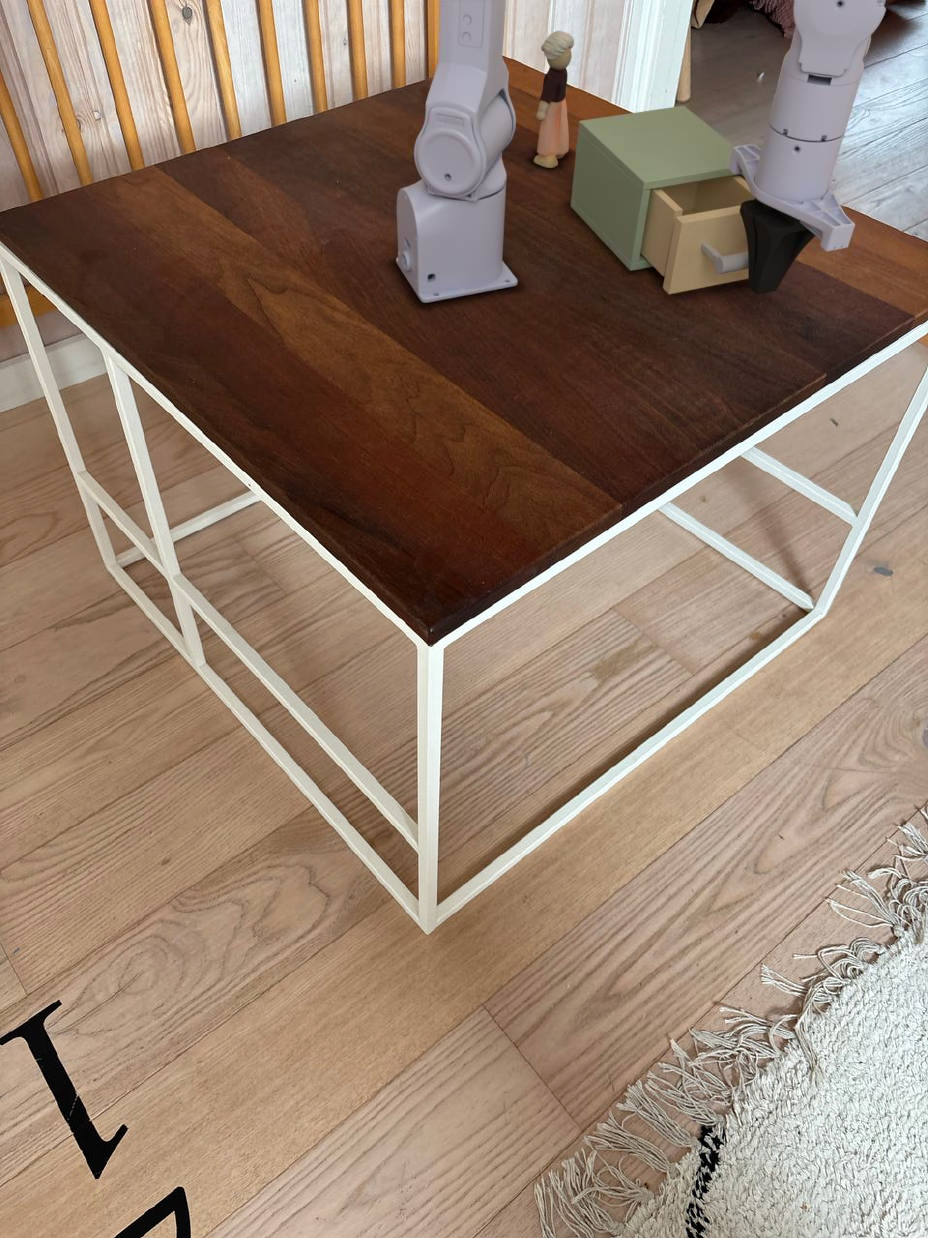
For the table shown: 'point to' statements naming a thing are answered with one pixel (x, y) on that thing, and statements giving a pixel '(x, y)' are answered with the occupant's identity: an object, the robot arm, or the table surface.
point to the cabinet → (639, 170)
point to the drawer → (697, 233)
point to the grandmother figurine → (554, 101)
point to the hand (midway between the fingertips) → (762, 288)
